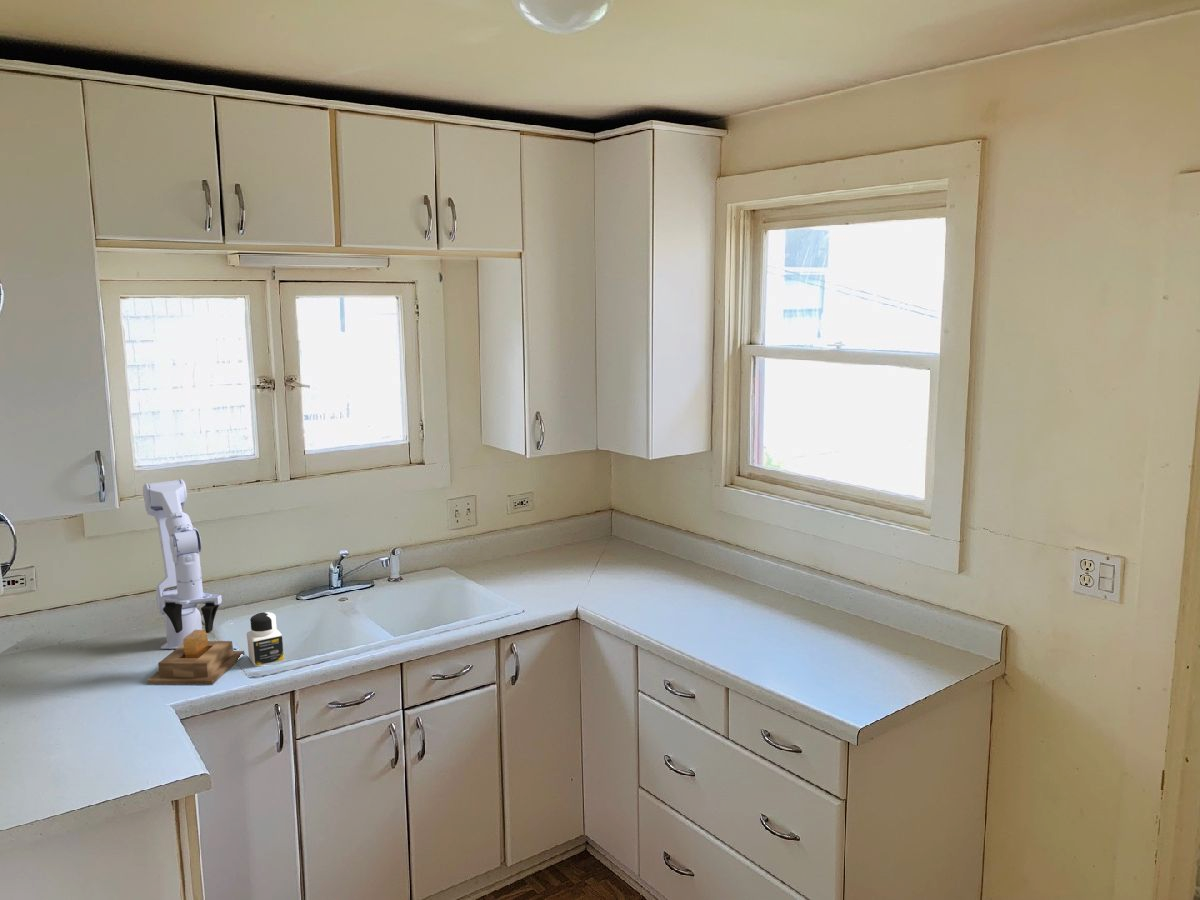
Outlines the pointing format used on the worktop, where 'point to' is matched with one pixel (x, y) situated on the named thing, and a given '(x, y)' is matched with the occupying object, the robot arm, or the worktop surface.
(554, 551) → the worktop surface
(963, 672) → the worktop surface
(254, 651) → the medicine bottle
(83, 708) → the worktop surface
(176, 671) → the well board
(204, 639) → the wooden peg block
